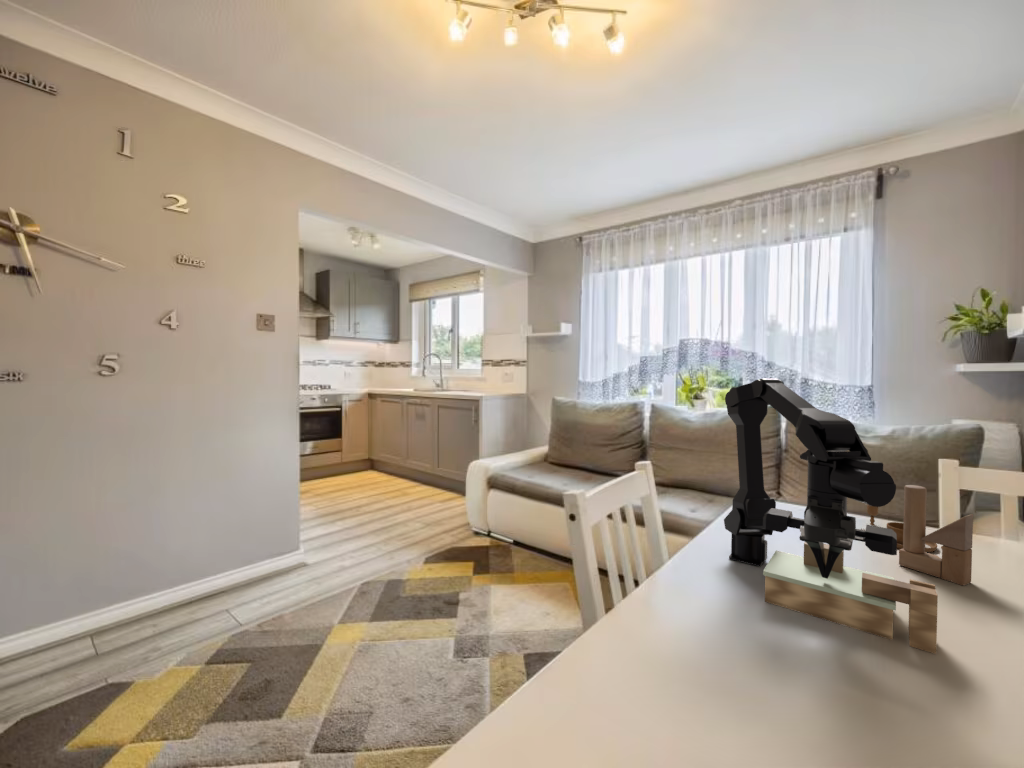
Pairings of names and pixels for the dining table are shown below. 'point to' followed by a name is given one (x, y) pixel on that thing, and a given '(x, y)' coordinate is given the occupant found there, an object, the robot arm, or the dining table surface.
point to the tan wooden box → (861, 610)
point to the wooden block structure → (935, 541)
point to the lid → (809, 575)
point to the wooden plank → (889, 588)
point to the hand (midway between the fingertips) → (825, 577)
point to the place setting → (897, 530)
